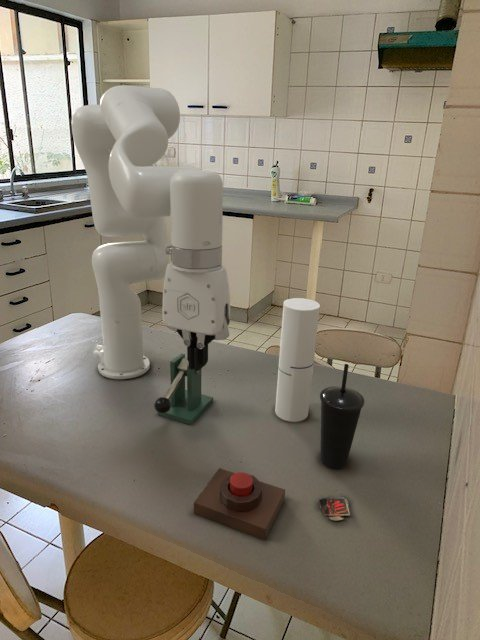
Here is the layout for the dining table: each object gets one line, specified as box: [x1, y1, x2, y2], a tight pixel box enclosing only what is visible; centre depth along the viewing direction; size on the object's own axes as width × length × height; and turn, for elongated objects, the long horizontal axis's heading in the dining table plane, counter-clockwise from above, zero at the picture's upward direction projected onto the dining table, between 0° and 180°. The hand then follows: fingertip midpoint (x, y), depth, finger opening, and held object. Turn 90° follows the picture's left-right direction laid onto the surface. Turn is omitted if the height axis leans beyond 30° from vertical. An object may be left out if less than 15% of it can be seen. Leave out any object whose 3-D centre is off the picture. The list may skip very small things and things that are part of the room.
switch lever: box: [153, 357, 189, 414], centre depth 93 cm, size 13×3×3 cm, turn 156°
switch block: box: [193, 467, 286, 541], centre depth 74 cm, size 12×9×4 cm
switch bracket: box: [157, 352, 214, 426], centre depth 98 cm, size 10×8×12 cm
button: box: [230, 472, 253, 497], centre depth 73 cm, size 4×4×2 cm
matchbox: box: [318, 497, 351, 522], centre depth 74 cm, size 5×5×1 cm
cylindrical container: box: [274, 297, 321, 423], centre depth 96 cm, size 7×7×25 cm
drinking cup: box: [319, 363, 366, 470], centre depth 82 cm, size 8×8×20 cm
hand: (197, 366), depth 76 cm, fingers closed
